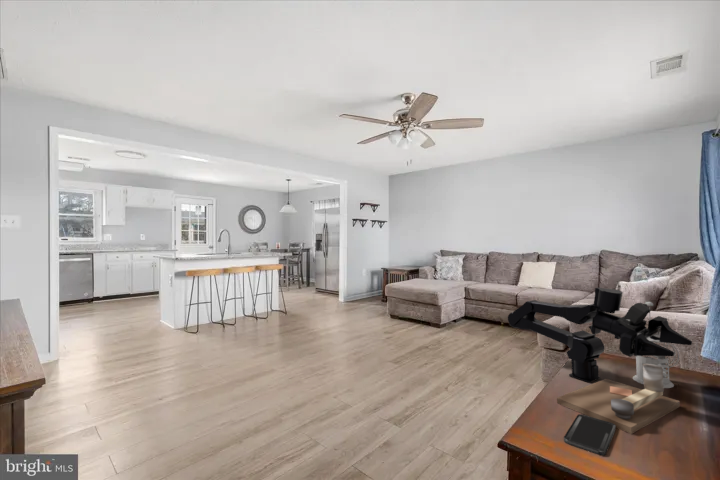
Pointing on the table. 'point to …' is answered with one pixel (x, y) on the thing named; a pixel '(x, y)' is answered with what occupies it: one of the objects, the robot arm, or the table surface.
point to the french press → (655, 362)
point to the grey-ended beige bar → (642, 391)
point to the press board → (598, 405)
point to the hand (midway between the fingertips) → (683, 348)
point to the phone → (590, 434)
